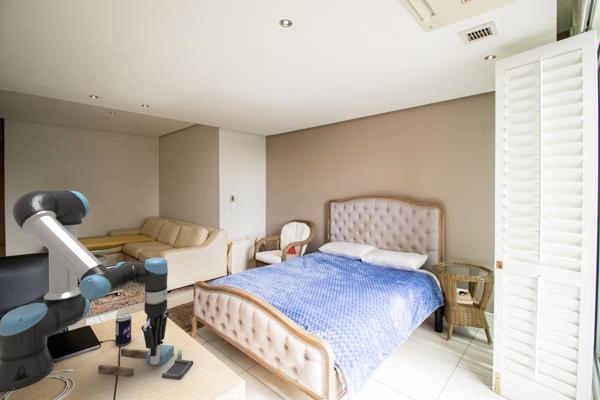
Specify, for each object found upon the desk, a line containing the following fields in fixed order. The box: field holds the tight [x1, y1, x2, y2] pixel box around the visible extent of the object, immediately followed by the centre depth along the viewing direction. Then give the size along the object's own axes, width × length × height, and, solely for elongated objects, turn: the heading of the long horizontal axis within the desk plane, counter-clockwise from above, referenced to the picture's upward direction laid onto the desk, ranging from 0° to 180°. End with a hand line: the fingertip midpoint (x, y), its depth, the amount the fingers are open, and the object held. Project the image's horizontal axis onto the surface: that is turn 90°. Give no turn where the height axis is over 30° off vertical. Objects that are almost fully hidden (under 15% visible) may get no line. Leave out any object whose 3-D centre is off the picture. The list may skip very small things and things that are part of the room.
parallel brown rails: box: [97, 347, 149, 378], centre depth 104 cm, size 13×12×2 cm
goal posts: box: [148, 348, 183, 360], centre depth 110 cm, size 14×2×3 cm, turn 83°
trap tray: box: [161, 358, 194, 381], centre depth 102 cm, size 7×9×1 cm
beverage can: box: [114, 312, 132, 347], centre depth 118 cm, size 6×6×12 cm
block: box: [145, 344, 175, 367], centre depth 108 cm, size 7×7×4 cm
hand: (155, 362), depth 103 cm, fingers closed
